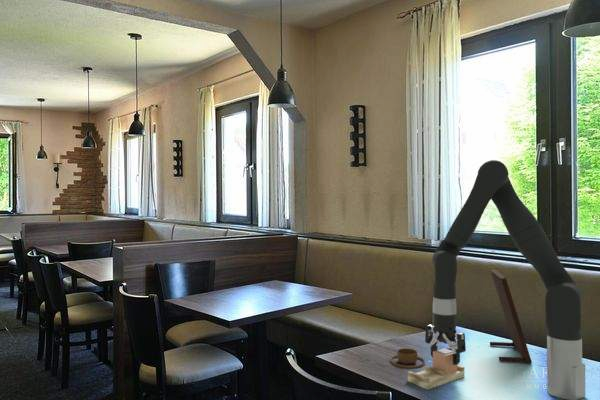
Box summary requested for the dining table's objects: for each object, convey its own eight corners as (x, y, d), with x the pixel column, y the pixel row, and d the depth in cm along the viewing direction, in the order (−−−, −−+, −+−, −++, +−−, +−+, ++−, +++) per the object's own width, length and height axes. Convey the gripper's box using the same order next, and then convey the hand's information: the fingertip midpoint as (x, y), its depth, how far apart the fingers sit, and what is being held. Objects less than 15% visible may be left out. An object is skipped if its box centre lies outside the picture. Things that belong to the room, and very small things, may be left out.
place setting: (401, 355, 183) (401, 339, 183) (455, 365, 172) (455, 348, 172) (381, 368, 169) (381, 351, 169) (438, 380, 158) (438, 362, 158)
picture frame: (532, 364, 170) (531, 278, 170) (500, 362, 173) (499, 277, 172) (517, 346, 191) (517, 269, 191) (489, 344, 193) (488, 268, 193)
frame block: (457, 370, 159) (457, 351, 159) (445, 374, 156) (445, 355, 156) (444, 366, 163) (444, 347, 163) (432, 370, 160) (432, 351, 160)
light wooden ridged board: (464, 376, 159) (464, 367, 159) (427, 389, 149) (427, 379, 149) (444, 369, 166) (444, 360, 166) (407, 381, 155) (407, 371, 155)
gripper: (470, 313, 156) (470, 364, 156) (434, 305, 167) (434, 353, 167) (455, 317, 151) (455, 369, 151) (419, 308, 163) (420, 357, 163)
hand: (444, 360), depth 159 cm, fingers open, 8 cm apart
